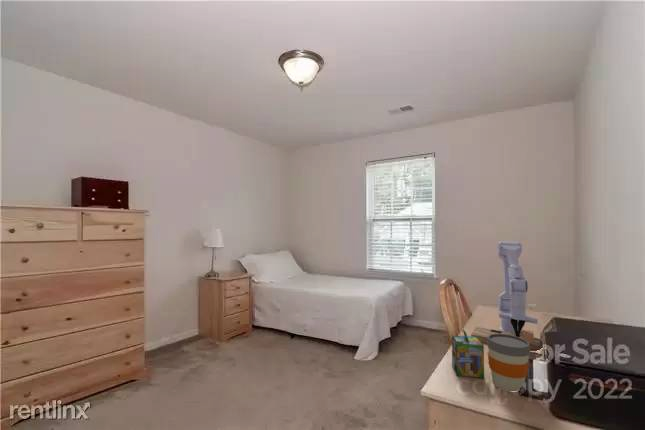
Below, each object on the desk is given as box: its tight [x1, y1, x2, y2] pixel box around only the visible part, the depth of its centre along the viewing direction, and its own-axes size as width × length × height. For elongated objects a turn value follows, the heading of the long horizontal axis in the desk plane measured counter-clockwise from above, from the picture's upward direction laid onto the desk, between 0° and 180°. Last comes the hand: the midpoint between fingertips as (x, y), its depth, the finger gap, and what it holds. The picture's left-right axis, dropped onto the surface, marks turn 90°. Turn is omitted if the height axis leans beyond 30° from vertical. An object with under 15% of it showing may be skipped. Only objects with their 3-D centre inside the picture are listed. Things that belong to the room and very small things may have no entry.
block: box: [521, 328, 535, 343], centre depth 139 cm, size 4×4×4 cm
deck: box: [470, 326, 544, 351], centre depth 143 cm, size 13×27×6 cm, turn 54°
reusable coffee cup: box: [486, 334, 531, 392], centre depth 106 cm, size 13×13×15 cm
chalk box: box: [451, 328, 485, 379], centre depth 116 cm, size 9×9×15 cm
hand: (517, 336), depth 141 cm, fingers closed
